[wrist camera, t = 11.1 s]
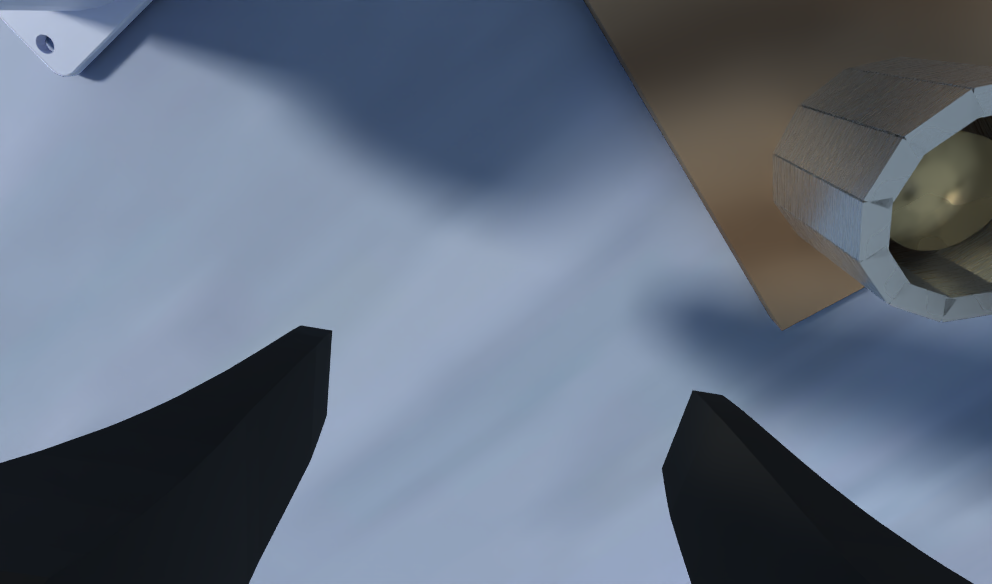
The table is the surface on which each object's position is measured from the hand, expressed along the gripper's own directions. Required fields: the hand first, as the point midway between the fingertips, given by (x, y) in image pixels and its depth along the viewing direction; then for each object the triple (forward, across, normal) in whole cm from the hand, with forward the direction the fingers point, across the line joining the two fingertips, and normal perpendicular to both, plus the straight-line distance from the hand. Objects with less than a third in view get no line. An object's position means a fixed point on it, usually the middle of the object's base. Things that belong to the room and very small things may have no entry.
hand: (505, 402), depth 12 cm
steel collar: (+8, -10, -5) cm, 14 cm away
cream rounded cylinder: (+9, -10, -5) cm, 15 cm away
